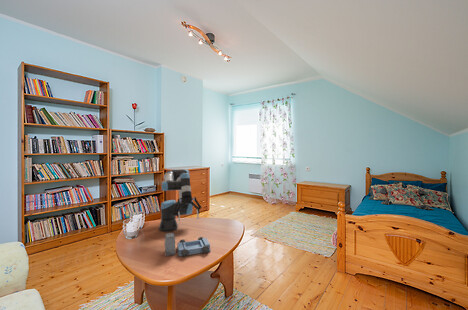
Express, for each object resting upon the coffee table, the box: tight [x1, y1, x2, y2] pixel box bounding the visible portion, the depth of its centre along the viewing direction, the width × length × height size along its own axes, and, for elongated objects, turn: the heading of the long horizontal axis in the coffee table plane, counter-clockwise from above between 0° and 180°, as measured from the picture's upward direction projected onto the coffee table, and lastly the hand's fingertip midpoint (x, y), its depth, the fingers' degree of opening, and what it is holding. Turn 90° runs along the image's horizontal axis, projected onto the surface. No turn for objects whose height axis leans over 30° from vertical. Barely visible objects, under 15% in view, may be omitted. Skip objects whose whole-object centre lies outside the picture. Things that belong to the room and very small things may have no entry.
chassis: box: [176, 236, 211, 258], centre depth 140 cm, size 16×20×4 cm
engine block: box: [164, 232, 176, 257], centre depth 135 cm, size 6×6×12 cm
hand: (188, 219), depth 156 cm, fingers open, 13 cm apart
